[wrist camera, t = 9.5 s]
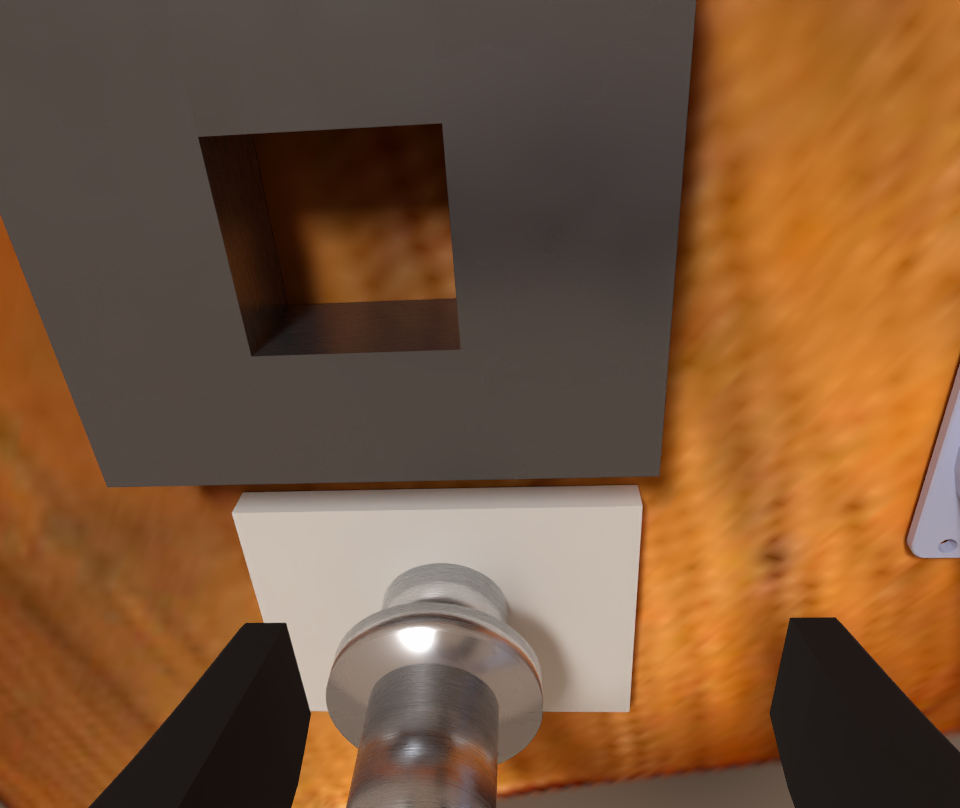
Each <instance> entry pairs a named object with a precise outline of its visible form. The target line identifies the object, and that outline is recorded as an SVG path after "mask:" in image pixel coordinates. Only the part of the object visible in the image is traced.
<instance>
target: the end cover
mask: <svg viewBox="0 0 960 808" xmlns="http://www.w3.org/2000/svg"><path fill="white" fill-rule="evenodd" d="M326 704H327V709H328V712H329V715H330V717H331V719H332V721H333V723H334V724H335V726H336V727H337V729H338V730H339V731H340V733H341V734H342V735H343V736H344V737H345V738H346V739H347V740H348V741H349V742H350V743H352V744H353V745H354V746H355V747H357V748H358V754H357V758H356V763H355V768H354V773H353V778H352V782H351V787H350V792H349V797H348V801H347V806H346V808H496V797H497V764H500V763H502V762H504V761H506V760H508V759H510V758H512V757H513V756H515V755H516V754H518V753H519V752H520V751H522V750H523V749H524V748H525V747H526V746H527V745H528V744H529V743H530V742H531V741H532V739H533V738H534V736H535V735H536V733H537V731H538V729H539V727H540V725H541V721H542V717H543V687H542V672H541V667H540V664H539V661H538V658H537V656H536V654H535V652H534V651H533V649H532V648H531V646H530V645H529V644H528V642H527V641H526V640H525V639H524V638H523V637H522V636H521V635H520V634H519V633H518V632H517V631H515V630H514V629H513V628H511V627H510V626H509V625H508V603H507V601H506V598H505V596H504V594H503V592H502V591H501V589H500V588H499V587H498V586H497V585H496V584H495V583H494V582H493V581H492V580H491V579H490V578H488V577H487V576H485V575H484V574H482V573H480V572H478V571H476V570H474V569H471V568H469V567H466V566H462V565H457V564H450V563H432V564H425V565H421V566H417V567H414V568H412V569H409V570H407V571H406V572H404V573H402V574H401V575H399V576H398V577H397V578H396V579H395V580H394V581H393V582H392V583H391V584H390V585H389V587H388V588H387V590H386V592H385V595H384V599H383V603H382V608H381V611H379V612H376V613H374V614H372V615H370V616H368V617H366V618H364V619H363V620H361V621H360V622H359V623H357V624H356V625H355V626H353V627H352V628H351V629H350V630H349V631H348V632H347V633H346V635H345V636H344V638H343V639H342V640H341V642H340V644H339V646H338V648H337V650H336V654H335V657H334V661H333V665H332V668H331V672H330V676H329V679H328V683H327V687H326Z"/></svg>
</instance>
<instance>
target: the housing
mask: <svg viewBox="0 0 960 808" xmlns="http://www.w3.org/2000/svg"><path fill="white" fill-rule="evenodd" d="M695 9H696V0H0V215H1V217H2V220H3V222H4V225H5V227H6V230H7V232H8V235H9V237H10V240H11V243H12V245H13V248H14V250H15V253H16V255H17V258H18V260H19V263H20V265H21V268H22V271H23V273H24V276H25V278H26V281H27V283H28V286H29V288H30V291H31V293H32V296H33V299H34V301H35V304H36V306H37V309H38V311H39V314H40V316H41V319H42V321H43V324H44V327H45V329H46V332H47V334H48V337H49V339H50V342H51V344H52V347H53V350H54V352H55V355H56V357H57V360H58V362H59V365H60V367H61V370H62V372H63V375H64V378H65V380H66V383H67V385H68V388H69V390H70V393H71V395H72V398H73V400H74V403H75V406H76V408H77V411H78V413H79V416H80V418H81V421H82V423H83V426H84V428H85V431H86V434H87V436H88V439H89V441H90V444H91V446H92V449H93V451H94V454H95V457H96V459H97V462H98V464H99V467H100V469H101V472H102V474H103V477H104V479H105V482H106V485H107V487H145V486H196V485H246V484H296V483H346V482H397V481H447V480H497V479H548V478H598V477H648V476H660V463H661V450H662V437H663V424H664V411H665V398H666V385H667V372H668V359H669V346H670V333H671V320H672V307H673V294H674V281H675V268H676V255H677V242H678V229H679V216H680V203H681V190H682V177H683V164H684V151H685V138H686V125H687V112H688V99H689V86H690V73H691V61H692V48H693V35H694V22H695ZM438 123H442V129H443V141H444V153H445V165H446V177H447V190H448V202H449V214H450V226H451V238H452V250H453V263H454V275H455V287H456V299H433V300H406V301H380V302H354V303H327V304H301V305H287V301H286V296H285V291H284V286H283V282H282V277H281V272H280V267H279V262H278V257H277V253H276V248H275V243H274V238H273V233H272V229H271V224H270V219H269V214H268V209H267V204H266V200H265V195H264V190H263V185H262V180H261V175H260V171H259V166H258V161H257V156H256V151H255V146H254V142H253V137H252V134H258V133H276V132H294V131H312V130H330V129H348V128H366V127H384V126H402V125H420V124H438Z"/></svg>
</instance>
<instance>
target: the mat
mask: <svg viewBox="0 0 960 808" xmlns="http://www.w3.org/2000/svg"><path fill="white" fill-rule="evenodd" d="M642 508H643V505H642V501H641V496H640V492H639V488H638V485H604V486H551V487H499V488H447V489H394V490H342V491H289V492H243V493H242V495H241V497H240V499H239V501H238V502H237V504H236V506H235V508H234V510H233V512H232V515H233V519H234V522H235V526H236V529H237V532H238V536H239V539H240V543H241V546H242V549H243V553H244V556H245V560H246V563H247V566H248V570H249V573H250V577H251V580H252V584H253V587H254V590H255V594H256V597H257V601H258V604H259V607H260V611H261V614H262V618H263V621H264V623H286V624H287V628H288V632H289V635H290V639H291V643H292V646H293V650H294V654H295V657H296V661H297V665H298V668H299V672H300V676H301V679H302V683H303V687H304V690H305V694H306V698H307V701H308V705H309V709H310V711H328V709H327V704H326V687H327V683H328V679H329V676H330V672H331V668H332V665H333V661H334V657H335V654H336V650H337V648H338V646H339V644H340V642H341V640H342V639H343V638H344V636H345V635H346V633H347V632H348V631H349V630H350V629H351V628H352V627H353V626H355V625H356V624H357V623H359V622H360V621H361V620H363V619H364V618H366V617H368V616H370V615H372V614H374V613H376V612H379V611H381V608H382V603H383V599H384V595H385V592H386V590H387V588H388V587H389V585H390V584H391V583H392V582H393V581H394V580H395V579H396V578H397V577H398V576H399V575H401V574H402V573H404V572H406V571H407V570H409V569H412V568H414V567H417V566H421V565H425V564H432V563H450V564H457V565H462V566H466V567H469V568H471V569H474V570H476V571H478V572H480V573H482V574H484V575H485V576H487V577H488V578H490V579H491V580H492V581H493V582H494V583H495V584H496V585H497V586H498V587H499V588H500V589H501V591H502V592H503V594H504V596H505V598H506V601H507V603H508V625H509V626H510V627H511V628H513V629H514V630H515V631H517V632H518V633H519V634H520V635H521V636H522V637H523V638H524V639H525V640H526V641H527V642H528V644H529V645H530V646H531V648H532V649H533V651H534V652H535V654H536V656H537V658H538V661H539V664H540V667H541V672H542V687H543V712H629V710H630V695H631V679H632V664H633V648H634V632H635V617H636V601H637V586H638V570H639V555H640V539H641V524H642Z"/></svg>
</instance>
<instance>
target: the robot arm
mask: <svg viewBox="0 0 960 808" xmlns="http://www.w3.org/2000/svg"><path fill="white" fill-rule="evenodd" d="M948 539H949V540H948ZM944 540H948V541H946V542H945V543H942V544H940V543H941V542H943V541H944ZM907 545H908V546H909V548H910V549H911V551H912V552H913V554H914V555H916V556H918V557H921V558H960V365H959V368H958V372H957V375H956V378H955V382H954V385H953V388H952V392H951V395H950V398H949V402H948V405H947V408H946V412H945V415H944V418H943V421H942V425H941V428H940V431H939V435H938V438H937V441H936V445H935V448H934V451H933V455H932V458H931V461H930V465H929V468H928V471H927V474H926V478H925V481H924V484H923V488H922V491H921V494H920V498H919V501H918V504H917V508H916V511H915V514H914V517H913V521H912V524H911V527H910V531H909V534H908V537H907ZM310 716H311V712H310V709H309V705H308V701H307V698H306V694H305V690H304V687H303V683H302V679H301V676H300V672H299V668H298V665H297V661H296V657H295V654H294V650H293V646H292V643H291V639H290V635H289V632H288V628H287V624H286V623H245V624H244V625H243V626H242V627H241V628H240V629H239V631H238V632H237V633H236V634H235V636H234V637H233V638H232V639H231V641H230V642H229V643H228V644H227V646H226V647H225V648H224V649H223V651H222V652H221V653H220V654H219V656H218V657H217V658H216V659H215V661H214V662H213V663H212V664H211V666H210V667H209V668H208V669H207V671H206V672H205V673H204V674H203V676H202V677H201V678H200V679H199V681H198V682H197V683H196V684H195V686H194V687H193V688H192V689H191V690H190V692H189V693H188V694H187V695H186V697H185V698H184V699H183V700H182V702H181V703H180V704H179V705H178V706H177V708H176V709H175V710H174V711H173V712H172V714H171V715H170V716H169V717H168V718H167V719H166V721H165V722H164V723H163V724H162V725H161V727H160V728H159V729H158V730H157V731H156V732H155V734H154V735H153V736H152V737H151V738H150V739H149V741H148V742H147V743H146V744H145V745H144V747H143V748H142V749H141V750H140V751H139V752H138V754H137V755H136V756H135V757H134V758H133V759H132V760H131V762H130V763H129V764H128V765H127V766H126V767H125V768H124V770H123V771H122V772H121V773H120V774H119V775H118V776H117V777H116V778H115V779H114V780H113V781H112V783H111V784H110V785H109V786H108V787H107V788H106V789H105V790H104V791H103V792H102V793H101V795H100V796H99V797H98V798H97V799H96V800H95V801H94V802H93V803H92V804H91V805H90V807H89V808H291V806H292V803H293V799H294V796H295V793H296V789H297V786H298V781H299V776H300V771H301V765H302V760H303V755H304V750H305V744H306V739H307V733H308V727H309V722H310ZM770 717H771V721H772V725H773V729H774V734H775V738H776V742H777V746H778V750H779V755H780V759H781V762H782V766H783V770H784V774H785V778H786V782H787V785H788V789H789V792H790V795H791V797H792V801H793V803H794V806H795V808H960V752H959V751H958V750H957V749H956V748H955V747H954V746H953V745H952V744H951V743H950V742H949V740H948V739H947V738H946V737H945V736H944V735H943V734H942V733H941V732H940V731H939V730H938V729H937V728H936V727H935V726H934V725H933V724H932V723H931V722H930V721H929V720H928V719H927V717H926V716H925V715H924V714H923V713H922V712H921V711H920V710H919V709H918V708H917V707H916V706H915V705H914V704H913V702H912V701H911V700H910V699H909V698H908V697H907V696H906V695H905V694H904V693H903V692H902V690H901V689H900V688H899V687H898V686H897V685H896V684H895V683H894V682H893V681H892V679H891V678H890V677H889V676H888V675H887V674H886V673H885V672H884V671H883V669H882V668H881V667H880V666H879V665H878V664H877V663H876V662H875V661H874V659H873V658H872V657H871V656H870V655H869V654H868V653H867V652H866V651H865V649H864V648H863V647H862V646H861V645H860V644H859V643H858V642H857V640H856V639H855V638H854V637H853V636H852V635H851V634H850V633H849V631H848V630H847V629H846V628H845V627H844V626H843V625H842V624H841V623H840V622H839V621H838V620H837V619H836V618H790V621H789V625H788V630H787V635H786V639H785V644H784V649H783V654H782V658H781V663H780V668H779V672H778V677H777V682H776V686H775V691H774V696H773V700H772V705H771V710H770Z"/></svg>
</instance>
